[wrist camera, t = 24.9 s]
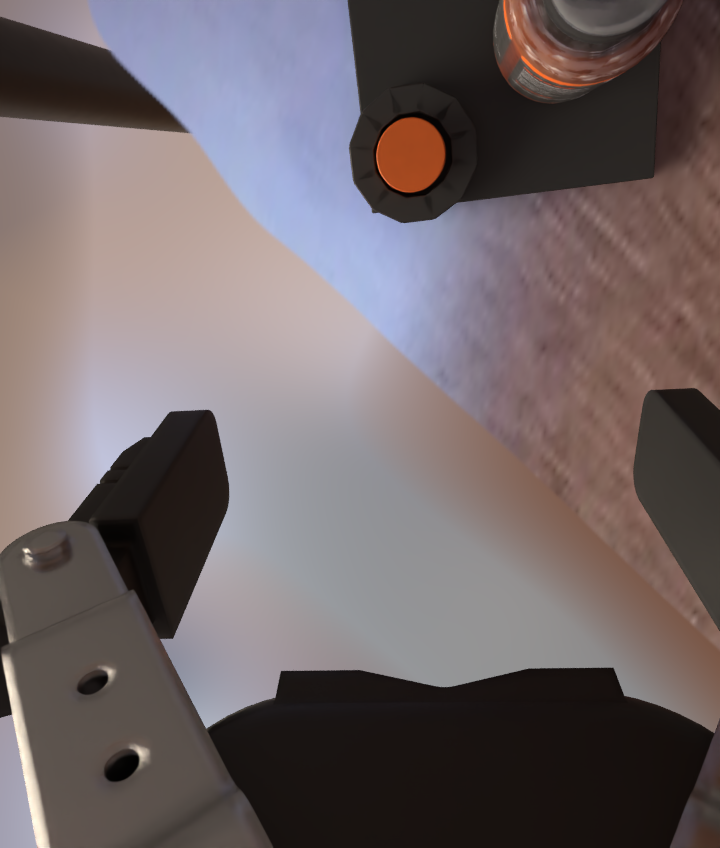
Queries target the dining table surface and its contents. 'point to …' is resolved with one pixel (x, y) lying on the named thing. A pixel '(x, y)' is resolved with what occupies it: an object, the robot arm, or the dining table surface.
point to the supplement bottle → (575, 42)
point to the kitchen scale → (485, 111)
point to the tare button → (411, 154)
